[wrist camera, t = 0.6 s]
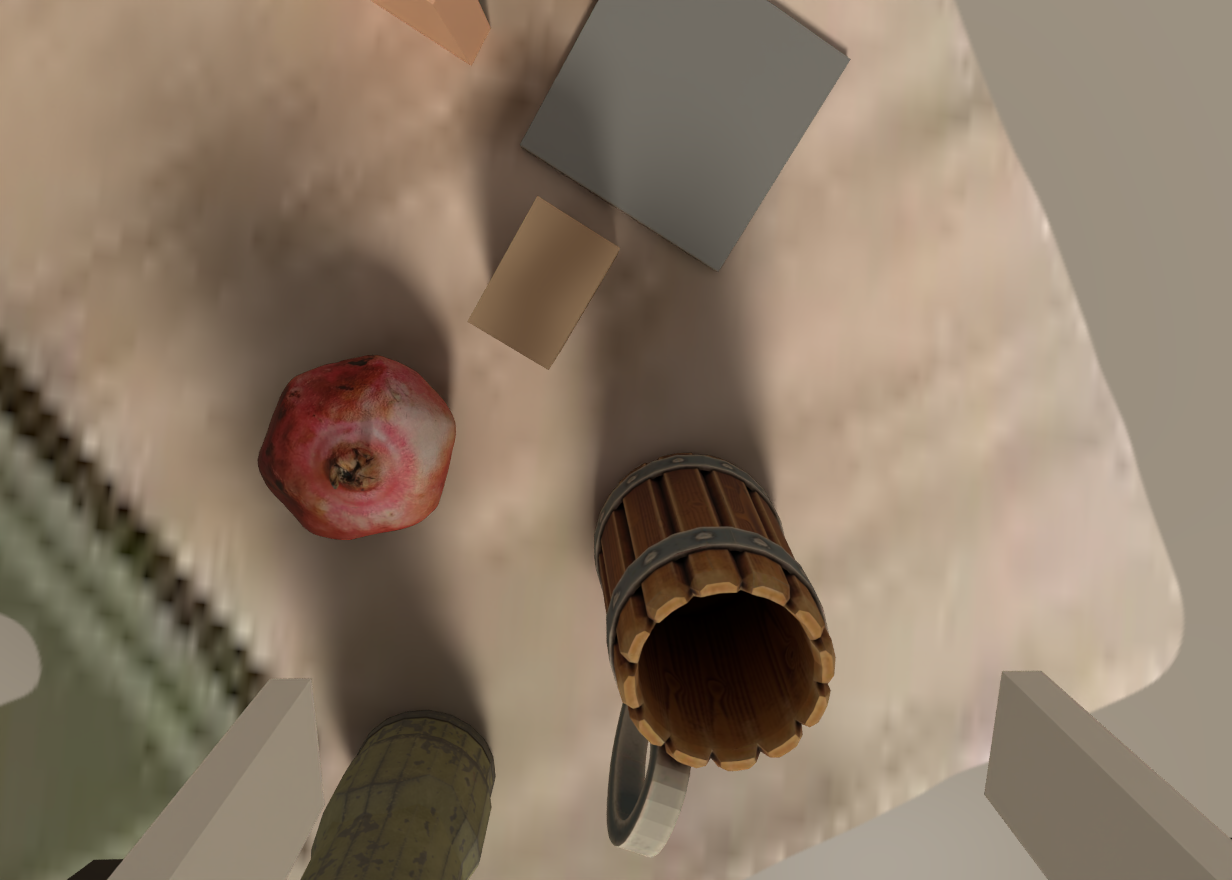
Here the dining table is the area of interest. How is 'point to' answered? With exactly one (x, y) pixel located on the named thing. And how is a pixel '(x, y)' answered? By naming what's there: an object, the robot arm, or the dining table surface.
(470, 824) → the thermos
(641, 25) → the coaster
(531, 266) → the push block
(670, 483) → the mug
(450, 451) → the fruit
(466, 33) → the tile
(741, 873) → the dining table surface
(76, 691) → the dining table surface
